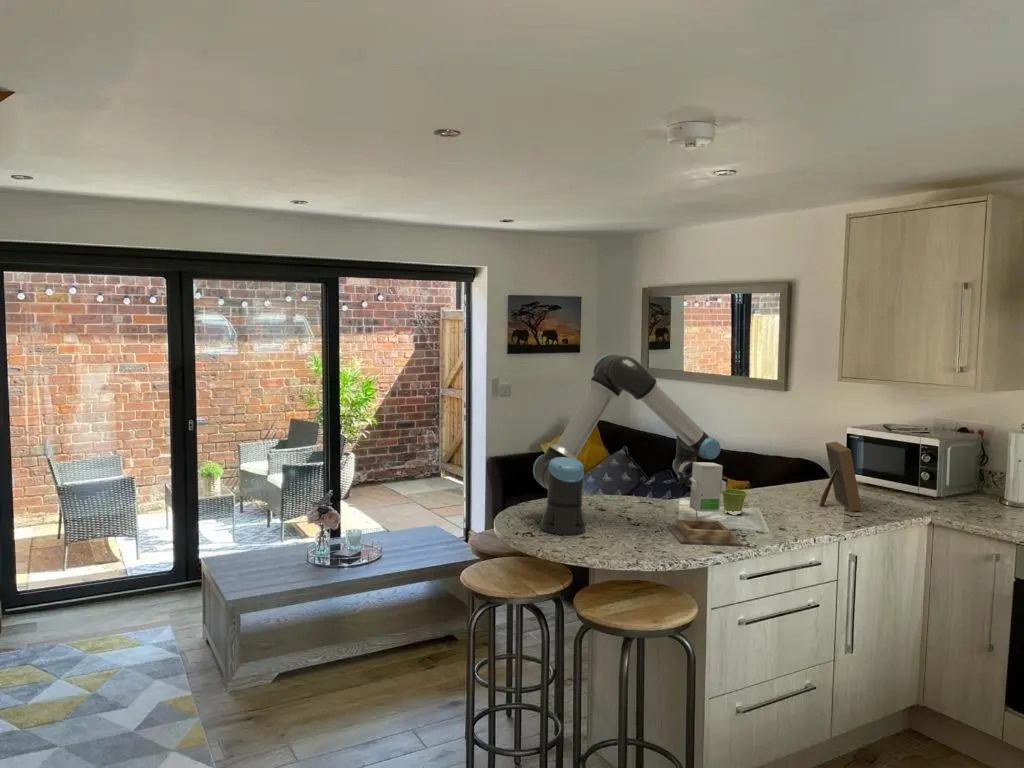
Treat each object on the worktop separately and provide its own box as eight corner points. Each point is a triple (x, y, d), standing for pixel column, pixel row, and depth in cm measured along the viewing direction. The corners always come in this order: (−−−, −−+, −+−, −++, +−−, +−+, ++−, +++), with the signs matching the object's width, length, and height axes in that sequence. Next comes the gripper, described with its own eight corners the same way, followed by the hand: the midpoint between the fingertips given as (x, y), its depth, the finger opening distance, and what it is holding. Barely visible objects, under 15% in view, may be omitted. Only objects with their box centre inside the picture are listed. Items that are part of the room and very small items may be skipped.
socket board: (680, 543, 243) (681, 532, 243) (666, 527, 263) (667, 516, 263) (741, 546, 244) (742, 534, 243) (723, 529, 264) (723, 518, 263)
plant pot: (746, 517, 282) (748, 495, 282) (720, 515, 284) (722, 492, 284) (744, 512, 292) (745, 490, 291) (719, 509, 293) (720, 487, 293)
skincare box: (698, 512, 249) (701, 465, 247) (688, 507, 255) (691, 461, 254) (720, 511, 251) (723, 465, 250) (710, 506, 257) (713, 461, 256)
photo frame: (846, 500, 322) (850, 442, 320) (861, 512, 300) (865, 450, 298) (809, 498, 324) (813, 440, 322) (822, 509, 303) (826, 448, 301)
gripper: (721, 484, 271) (742, 498, 248) (661, 482, 270) (676, 496, 248) (722, 463, 270) (743, 476, 248) (662, 461, 269) (678, 473, 247)
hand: (710, 486), depth 248 cm, fingers closed on skincare box, 9 cm apart
